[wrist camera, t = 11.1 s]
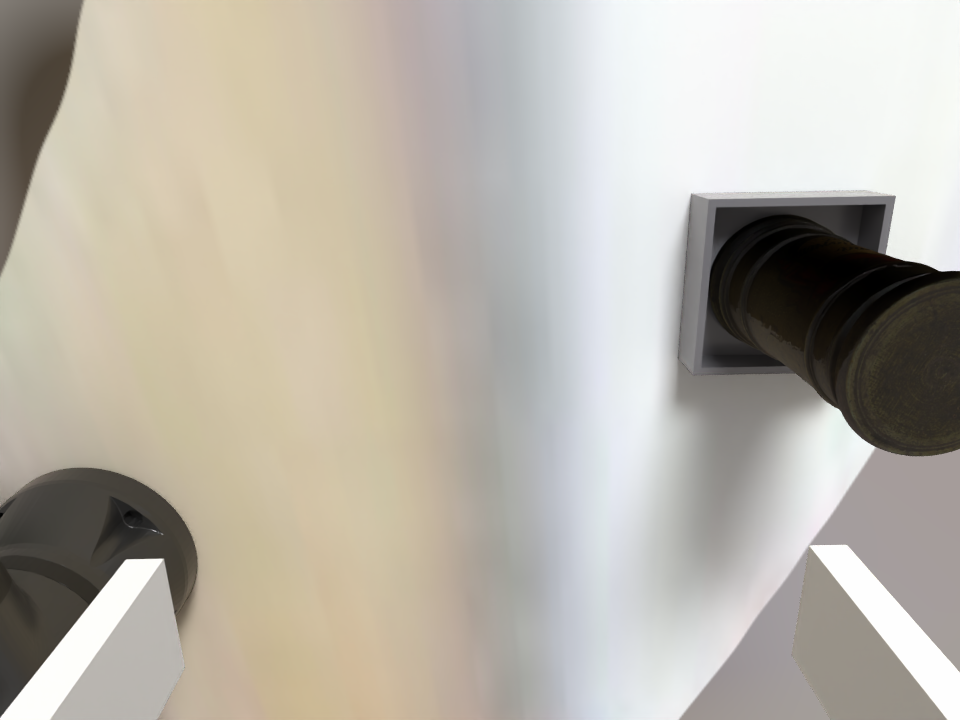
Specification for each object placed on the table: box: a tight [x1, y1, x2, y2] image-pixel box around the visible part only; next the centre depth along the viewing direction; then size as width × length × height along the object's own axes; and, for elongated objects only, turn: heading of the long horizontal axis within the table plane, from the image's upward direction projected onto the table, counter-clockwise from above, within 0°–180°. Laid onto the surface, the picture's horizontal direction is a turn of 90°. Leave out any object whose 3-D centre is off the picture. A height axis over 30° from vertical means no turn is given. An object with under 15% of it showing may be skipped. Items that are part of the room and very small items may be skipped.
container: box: [709, 215, 960, 456], centre depth 38 cm, size 9×9×18 cm
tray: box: [678, 190, 896, 375], centre depth 46 cm, size 12×12×4 cm
